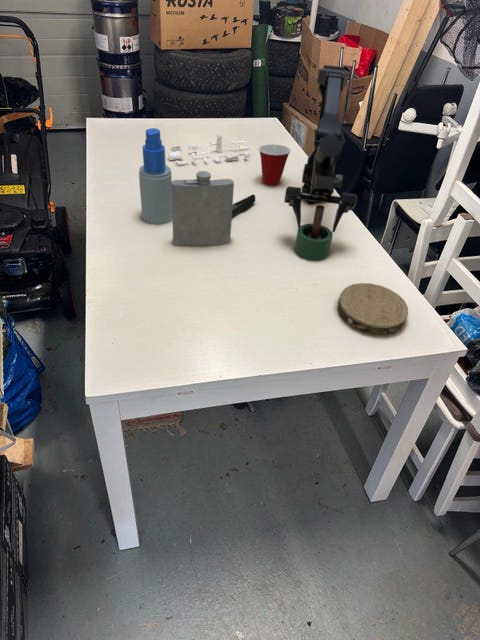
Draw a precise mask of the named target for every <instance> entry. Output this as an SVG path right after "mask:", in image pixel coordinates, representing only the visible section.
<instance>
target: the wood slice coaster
mask: <svg viewBox="0 0 480 640" xmlns="http://www.w3.org/2000/svg"><path fill="white" fill-rule="evenodd" d="M336 310H337V313H338V317H340V320H341V321H343V323H344V324H346V325H347V326H348V327H349V328H351V329H352V330H353V331H357V332H359V333H361V334H364V335H368V336H374V337H387V336H391V335H395V334H396V333H398V332H399V331H401V330H402V329H403V327H404V326H405V324H406V321H407V318H408V316H409V307H408V305H407V303H406V301H405V300H404V299H403V297H401V295H399V293H396V292H395V291H394V290H392V289H390V288H388V287H385V286H383V285H379V284H375V283H371V282H370V283H365V282H360V283H355V284H354V283H353V284H351V285H348V286H347V287H345V288H344V289H343V290H342V291H341V293H340V294H339V297H338V302H337V307H336Z"/></svg>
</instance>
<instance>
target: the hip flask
mask: <svg viewBox="0 0 480 640" xmlns="http://www.w3.org/2000/svg"><path fill="white" fill-rule="evenodd" d="M195 176H196V178H193V179H191V178H190V179H172V182H171V185H172V219H171V220H172V243H173V244H174V245H175V246H179V247H180V246H181V247H203V246H206V247H207V246H217V245H224V244H229V243H230V242H231V235H232V234H231V233H232V232H231V231H232V219H233V216H232V205H233V204H234V189H235V187H234V186H235V180H233V179H232V178H221V179H220V178H219V179H211V178H212V175H211V173H210V172H209V171H207V170H206V171H205V170H200V171H197V172H196V175H195Z"/></svg>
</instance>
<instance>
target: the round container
mask: <svg viewBox="0 0 480 640" xmlns="http://www.w3.org/2000/svg"><path fill="white" fill-rule="evenodd" d="M312 225H313V223H305V224H302V225H300V228H298V227H297V233H296V237H295V238H296V239H295V243H294V244H295V245H294V252H295V254H296V255H297V256H299V258H302V259H304V260H308V261H313V262H315V261H316V262H317V261H322V260H325V259H326V258H327V257H328V256H329V253H330V249H331V246H332V245H331V244H332V241H333V237H334V235H333V233H334V232H333V231H332V230H331V229H329V228H328V227H327V226H325V225H323V224H321V227H320V232H319V235H320V236H321V238H322V239H312V238H309V237H307V235H308V234H311V230H312Z"/></svg>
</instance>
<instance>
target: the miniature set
mask: <svg viewBox="0 0 480 640" xmlns="http://www.w3.org/2000/svg"><path fill="white" fill-rule="evenodd" d="M247 142H249V140H235V141H230V142H229V144H230V145H233V144H238V145H239V150H242V151H243V150H249V149H252V146H251V145H250V146H242V145H241V143H247ZM222 145H223V137H222V136H221V135H220V134H218V135H216V142H213V143H212V142H210V143H209V144H208V146H209V147H212V146H216V149H215V150H216V151H217V153H224V152H231V151H236V148H227V149H224V150H222V149H223V148H222V147H223V146H222ZM181 147H183V144H175V145H172V146H170V148H169V150H170V151H168V159H169V161H173V160H175V163H176V164H177V165H178V166H181V165H188V164H189V162H188V161H179V160H182V153H181V152H183V149H181ZM187 149H188V150H193V151H194V150H195V151H197V149H202V146H201V145H199V146H198V145H197V143H193V144H187ZM211 153H212V152H211V150H207V151H202V152H196V153H194V152H191V154H188V155H187V156H191V158H192V159H193V161H196V160H198V159H197V156H196V155H202V158H203V160H204V162H205V163H206V164H208V159H207V158H206V156H203V155H206V154H211ZM243 153H244V154H243V155H244V159H250V155H251V153H250V152H248V151H243ZM213 160H214V161H215V162H216V163H220V158H219V156H216V157H213ZM224 160H225V161H227V162H229V161H234V160H239V153H235V154H226V155H225V159H224Z"/></svg>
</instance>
